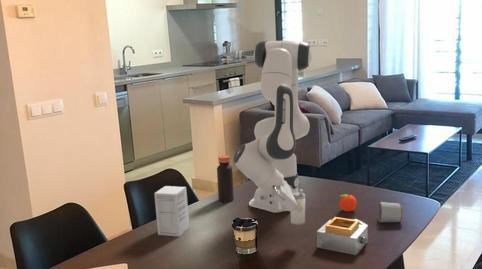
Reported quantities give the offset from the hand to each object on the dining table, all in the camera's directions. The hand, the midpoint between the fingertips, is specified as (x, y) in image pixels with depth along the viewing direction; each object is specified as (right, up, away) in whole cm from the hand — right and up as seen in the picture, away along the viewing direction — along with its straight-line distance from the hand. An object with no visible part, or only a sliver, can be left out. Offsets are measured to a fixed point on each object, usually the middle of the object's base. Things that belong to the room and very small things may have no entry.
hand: (299, 207), depth 185 cm
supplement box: (-46, -12, +18) cm, 51 cm away
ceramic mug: (+37, -8, +20) cm, 42 cm away
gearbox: (+15, -13, -1) cm, 20 cm away
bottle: (-27, -4, +51) cm, 58 cm away
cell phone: (+19, -10, +15) cm, 26 cm away
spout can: (-1, -5, +1) cm, 5 cm away
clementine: (+23, -6, +31) cm, 39 cm away
